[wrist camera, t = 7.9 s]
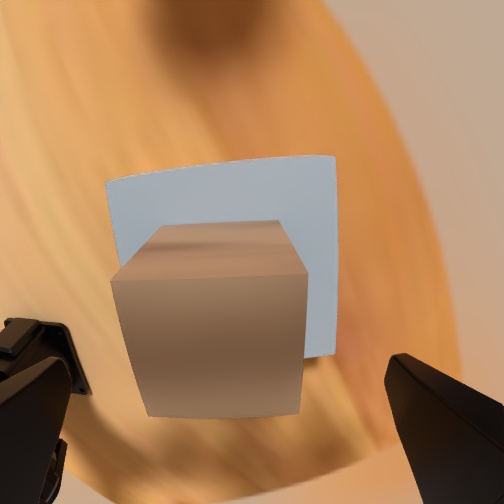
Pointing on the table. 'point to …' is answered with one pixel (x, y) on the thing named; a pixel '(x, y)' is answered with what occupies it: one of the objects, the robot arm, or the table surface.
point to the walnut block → (215, 320)
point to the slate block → (245, 217)
